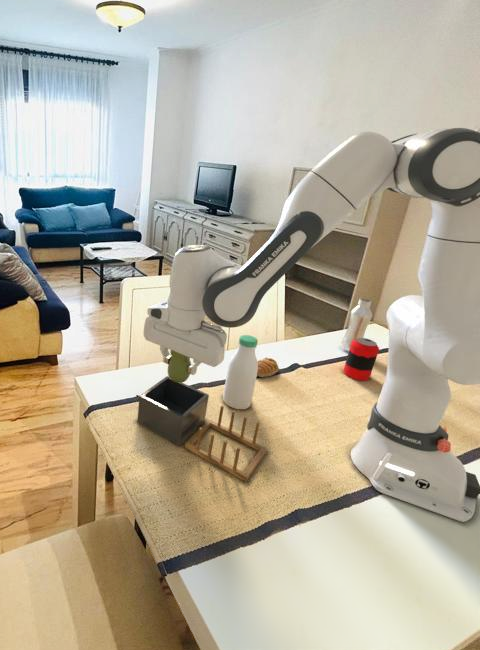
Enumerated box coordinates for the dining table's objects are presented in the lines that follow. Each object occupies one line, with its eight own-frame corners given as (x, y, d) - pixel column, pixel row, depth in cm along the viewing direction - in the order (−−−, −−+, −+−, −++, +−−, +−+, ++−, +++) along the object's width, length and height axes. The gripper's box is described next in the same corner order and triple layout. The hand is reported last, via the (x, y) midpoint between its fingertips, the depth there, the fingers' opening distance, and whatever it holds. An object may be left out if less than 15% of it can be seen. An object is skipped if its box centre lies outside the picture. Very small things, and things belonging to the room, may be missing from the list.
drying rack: (266, 451, 90) (271, 427, 88) (245, 482, 81) (251, 456, 79) (208, 423, 99) (212, 400, 96) (184, 447, 90) (188, 423, 88)
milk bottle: (252, 412, 104) (266, 346, 97) (223, 407, 105) (234, 342, 98) (249, 396, 111) (261, 333, 104) (221, 391, 112) (232, 330, 105)
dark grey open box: (204, 420, 100) (208, 394, 97) (179, 445, 91) (183, 418, 88) (164, 400, 107) (166, 375, 104) (137, 422, 98) (139, 395, 95)
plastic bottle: (343, 344, 146) (358, 295, 139) (363, 351, 141) (379, 301, 134) (336, 349, 142) (351, 298, 135) (356, 356, 137) (372, 304, 130)
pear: (192, 380, 95) (197, 343, 91) (183, 389, 91) (188, 352, 87) (172, 372, 98) (176, 337, 94) (162, 381, 93) (166, 344, 90)
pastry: (264, 381, 119) (267, 371, 117) (245, 372, 123) (247, 362, 122) (279, 372, 125) (282, 361, 123) (260, 363, 129) (262, 353, 128)
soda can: (371, 375, 126) (382, 342, 121) (366, 383, 121) (377, 350, 116) (346, 366, 131) (356, 334, 126) (340, 374, 125) (350, 341, 121)
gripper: (234, 324, 84) (224, 379, 89) (156, 300, 96) (152, 349, 101) (221, 333, 79) (212, 390, 84) (141, 306, 91) (137, 357, 96)
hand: (179, 367), depth 93 cm, fingers closed on pear, 5 cm apart
